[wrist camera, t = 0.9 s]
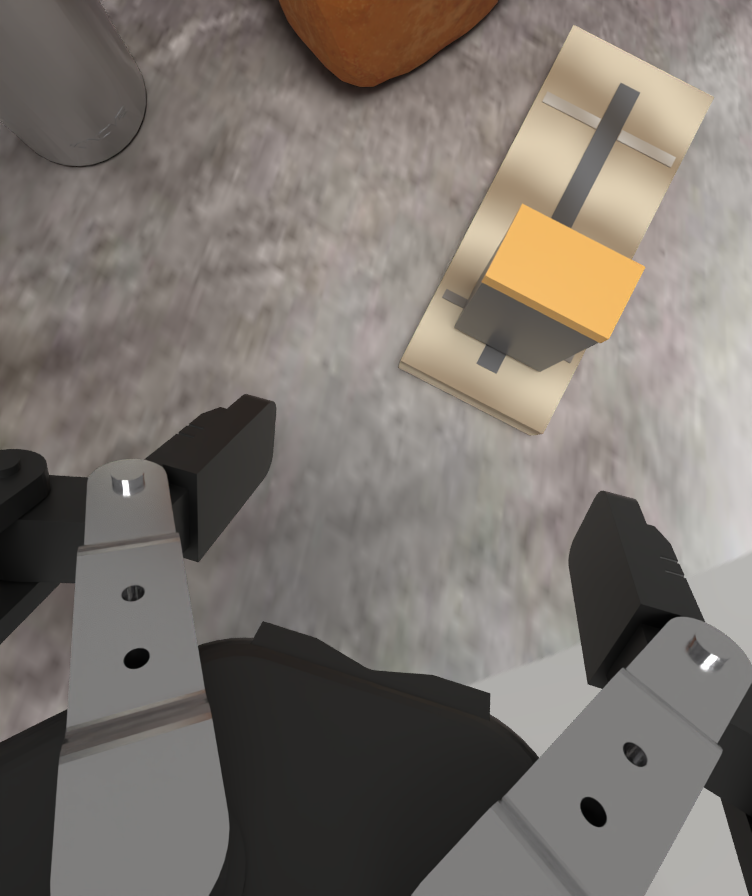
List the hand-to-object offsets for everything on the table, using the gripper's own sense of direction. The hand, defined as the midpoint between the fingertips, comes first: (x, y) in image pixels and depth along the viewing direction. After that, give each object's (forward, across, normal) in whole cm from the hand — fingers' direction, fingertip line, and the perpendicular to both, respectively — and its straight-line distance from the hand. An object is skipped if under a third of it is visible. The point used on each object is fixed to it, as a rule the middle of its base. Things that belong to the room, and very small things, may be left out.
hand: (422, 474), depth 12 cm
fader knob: (+21, -3, +1) cm, 21 cm away
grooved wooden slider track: (+27, -4, -3) cm, 28 cm away
